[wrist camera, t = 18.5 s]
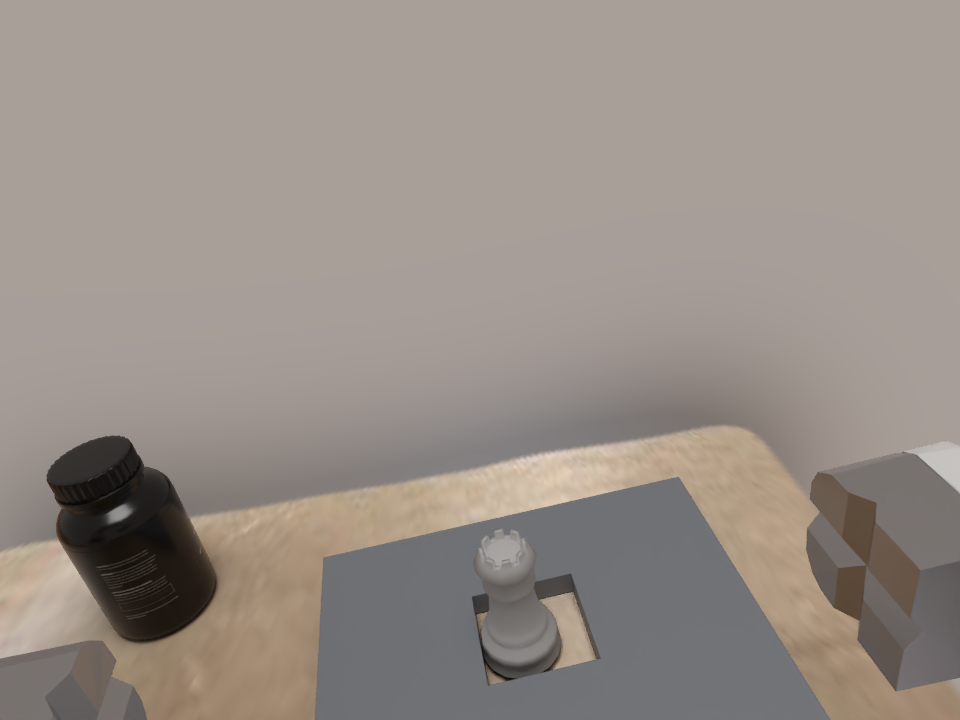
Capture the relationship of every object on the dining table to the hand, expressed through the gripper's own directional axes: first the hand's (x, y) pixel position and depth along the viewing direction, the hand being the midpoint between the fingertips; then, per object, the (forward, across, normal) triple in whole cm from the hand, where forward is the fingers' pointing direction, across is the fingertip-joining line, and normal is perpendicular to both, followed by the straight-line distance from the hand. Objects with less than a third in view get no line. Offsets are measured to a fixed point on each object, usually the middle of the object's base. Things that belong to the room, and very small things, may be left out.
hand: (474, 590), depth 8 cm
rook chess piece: (+21, -1, +28) cm, 35 cm away
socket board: (+21, -2, +28) cm, 35 cm away
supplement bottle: (+31, +21, +28) cm, 47 cm away
